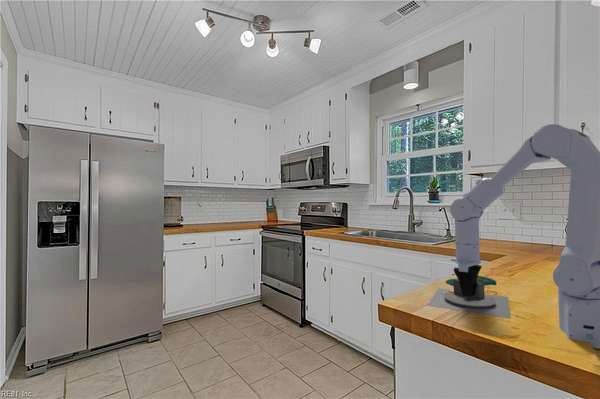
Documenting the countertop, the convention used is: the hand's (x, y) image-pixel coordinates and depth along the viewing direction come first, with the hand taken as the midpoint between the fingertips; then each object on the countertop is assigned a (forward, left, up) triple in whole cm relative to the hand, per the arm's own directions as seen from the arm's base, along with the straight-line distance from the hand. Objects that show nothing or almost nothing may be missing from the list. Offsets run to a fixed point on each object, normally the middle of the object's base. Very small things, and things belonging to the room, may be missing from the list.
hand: (468, 293), depth 82 cm
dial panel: (0, 0, -3) cm, 3 cm away
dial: (0, 0, -2) cm, 2 cm away
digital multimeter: (+20, +1, -4) cm, 21 cm away
